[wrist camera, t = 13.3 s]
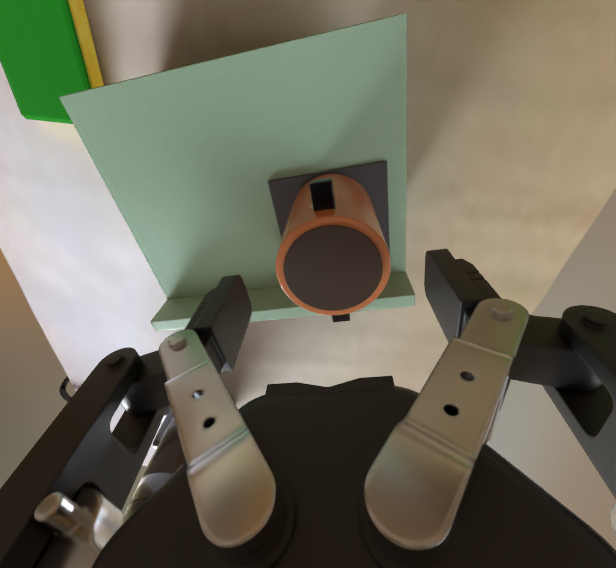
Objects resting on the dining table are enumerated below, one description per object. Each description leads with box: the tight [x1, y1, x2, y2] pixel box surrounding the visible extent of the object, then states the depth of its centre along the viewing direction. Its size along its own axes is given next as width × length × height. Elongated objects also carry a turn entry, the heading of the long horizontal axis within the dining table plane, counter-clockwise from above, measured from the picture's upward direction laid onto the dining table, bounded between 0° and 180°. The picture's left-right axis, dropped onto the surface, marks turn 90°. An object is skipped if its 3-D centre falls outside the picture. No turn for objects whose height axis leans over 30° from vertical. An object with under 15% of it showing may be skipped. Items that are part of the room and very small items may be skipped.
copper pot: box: [276, 174, 391, 322], centre depth 17 cm, size 5×8×8 cm
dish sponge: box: [0, 0, 104, 124], centre depth 24 cm, size 7×14×2 cm, turn 175°
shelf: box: [59, 13, 415, 331], centre depth 24 cm, size 20×16×15 cm
